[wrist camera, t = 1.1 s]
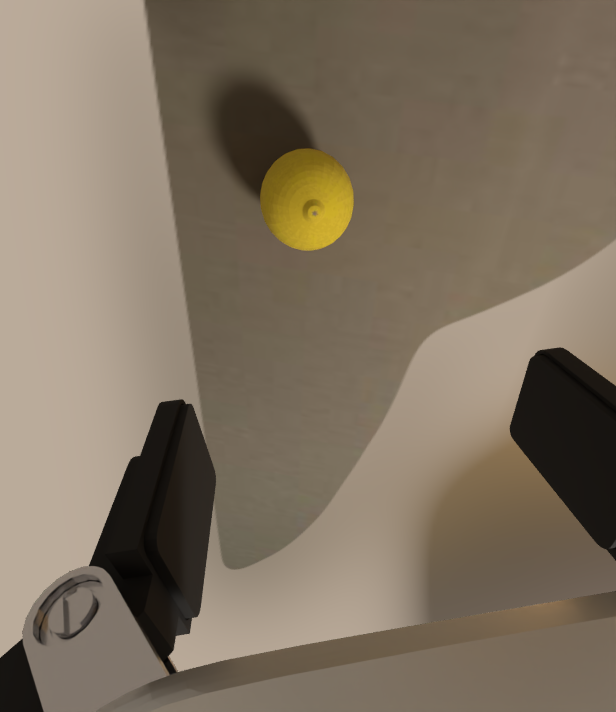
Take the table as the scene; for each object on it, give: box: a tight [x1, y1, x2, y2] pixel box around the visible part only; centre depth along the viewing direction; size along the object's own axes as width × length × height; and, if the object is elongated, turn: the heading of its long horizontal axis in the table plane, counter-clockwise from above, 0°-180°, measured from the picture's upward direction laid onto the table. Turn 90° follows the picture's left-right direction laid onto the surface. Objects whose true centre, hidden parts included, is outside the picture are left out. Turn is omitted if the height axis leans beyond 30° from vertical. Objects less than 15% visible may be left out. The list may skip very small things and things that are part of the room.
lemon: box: [260, 148, 354, 250], centre depth 22 cm, size 6×6×8 cm
